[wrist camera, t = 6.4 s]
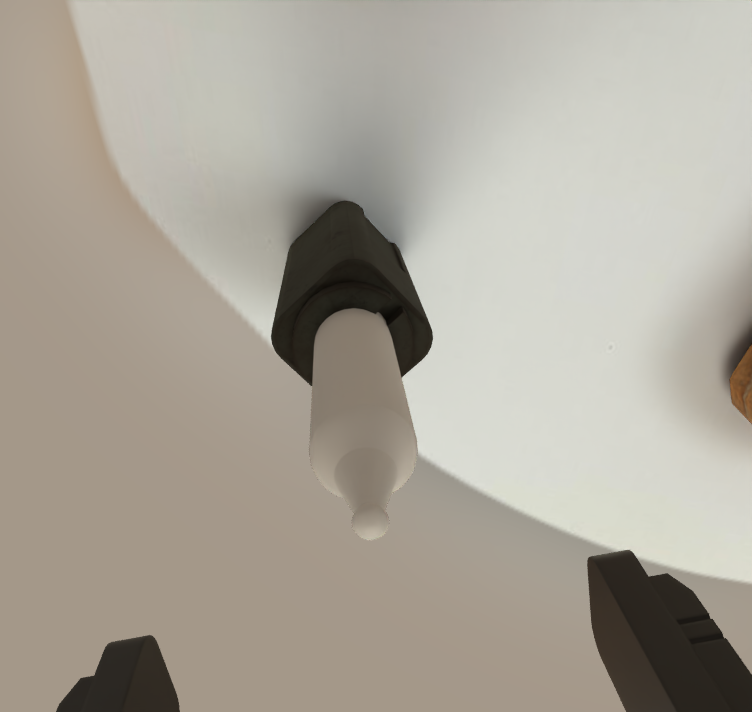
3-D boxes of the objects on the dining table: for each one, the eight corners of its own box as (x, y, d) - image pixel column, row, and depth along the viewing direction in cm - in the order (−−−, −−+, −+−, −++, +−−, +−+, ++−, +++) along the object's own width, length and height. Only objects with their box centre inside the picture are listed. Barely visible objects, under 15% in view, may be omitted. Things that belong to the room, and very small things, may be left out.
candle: (410, 259, 39) (530, 531, 16) (343, 320, 40) (366, 658, 17) (346, 191, 37) (377, 384, 14) (278, 256, 39) (206, 534, 15)
